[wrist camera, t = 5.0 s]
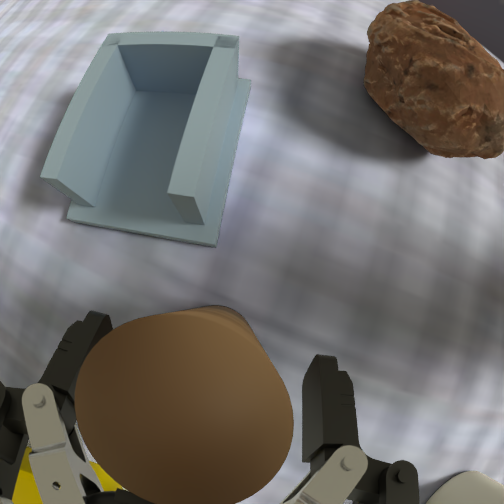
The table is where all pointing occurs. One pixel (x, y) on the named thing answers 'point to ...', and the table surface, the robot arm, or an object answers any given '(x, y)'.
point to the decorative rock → (436, 81)
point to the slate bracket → (152, 135)
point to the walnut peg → (185, 408)
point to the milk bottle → (469, 490)
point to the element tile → (29, 497)
